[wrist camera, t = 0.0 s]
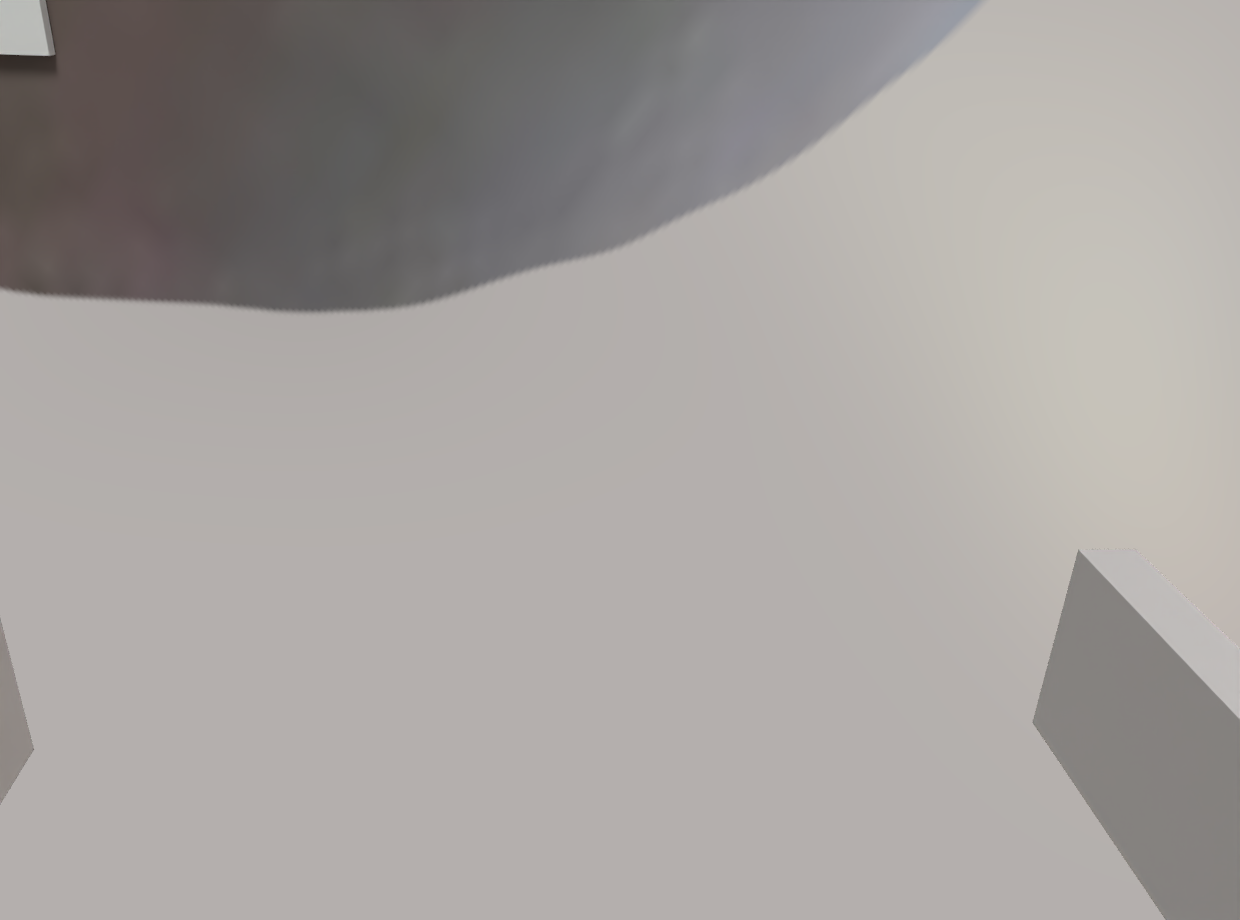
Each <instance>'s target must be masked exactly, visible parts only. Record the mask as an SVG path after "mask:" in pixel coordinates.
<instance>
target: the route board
mask: <svg viewBox="0 0 1240 920" xmlns="http://www.w3.org/2000/svg"><path fill="white" fill-rule="evenodd" d="M0 54H9V55H38V56H51V55H55V49H54V44H53V38H52V33H51V27H50V22H49V16H48V11H47V5H46V0H0Z"/></svg>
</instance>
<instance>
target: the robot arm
mask: <svg viewBox="0 0 1240 920" xmlns="http://www.w3.org/2000/svg"><path fill="white" fill-rule="evenodd" d="M1033 724H1034V725H1035V727H1036V728H1037V730H1038V731H1039V733H1040V734H1041V736H1042V737H1043V738H1044V740H1045V742H1046V743H1047V745H1048V746H1049V748H1050V749H1051V751H1052V752H1053V754H1054V755H1055V756H1056V758H1057V759H1058V761H1059V762H1060V764H1061V765H1062V767H1063V768H1064V770H1065V771H1066V773H1067V774H1068V776H1069V777H1070V779H1071V780H1072V782H1073V783H1074V785H1075V786H1076V788H1077V789H1078V791H1079V792H1080V794H1081V795H1082V797H1083V798H1084V799H1085V801H1086V802H1087V804H1088V805H1089V807H1090V808H1091V810H1092V811H1093V813H1094V814H1095V816H1096V817H1097V819H1098V820H1099V822H1100V823H1101V825H1102V826H1103V828H1104V829H1105V831H1106V832H1107V833H1108V835H1109V837H1110V838H1111V839H1112V841H1113V842H1114V844H1115V845H1116V847H1117V848H1118V850H1119V851H1120V853H1121V854H1122V856H1123V857H1124V859H1125V860H1126V862H1127V863H1128V865H1129V866H1130V868H1131V869H1132V870H1133V872H1134V874H1135V875H1136V877H1137V878H1138V880H1139V881H1140V882H1141V884H1142V885H1143V887H1144V888H1145V890H1146V891H1147V893H1148V894H1149V896H1150V897H1151V899H1152V900H1153V902H1154V903H1155V905H1156V906H1157V908H1158V909H1159V911H1160V912H1161V914H1162V915H1163V917H1164V918H1165V919H1166V920H1240V648H1239V647H1238V646H1237V645H1236V644H1235V643H1234V642H1233V641H1232V640H1231V639H1230V638H1228V637H1227V636H1226V635H1225V634H1224V633H1223V632H1222V631H1221V630H1220V629H1219V628H1218V627H1217V626H1216V625H1215V624H1214V623H1213V622H1212V621H1211V620H1210V619H1209V618H1207V617H1206V616H1205V615H1204V614H1203V613H1202V612H1201V611H1200V610H1199V609H1198V608H1197V607H1196V606H1195V605H1194V604H1193V603H1192V602H1191V601H1190V600H1189V599H1187V597H1186V596H1184V595H1183V594H1182V593H1181V592H1180V591H1179V590H1178V589H1177V588H1176V587H1175V586H1174V585H1173V584H1172V583H1171V582H1170V581H1169V580H1168V579H1167V578H1166V577H1165V576H1164V575H1162V574H1161V573H1160V572H1159V571H1158V570H1157V569H1156V568H1155V567H1154V566H1153V565H1152V564H1151V563H1150V562H1149V561H1148V560H1147V559H1146V558H1145V557H1144V556H1143V555H1141V554H1140V553H1139V552H1138V551H1137V550H1136V549H1091V550H1090V549H1089V550H1088V549H1086V550H1078V553H1077V557H1076V561H1075V565H1074V568H1073V572H1072V576H1071V580H1070V583H1069V587H1068V591H1067V594H1066V598H1065V602H1064V606H1063V610H1062V613H1061V617H1060V621H1059V625H1058V629H1057V632H1056V636H1055V640H1054V643H1053V648H1052V651H1051V655H1050V659H1049V662H1048V666H1047V670H1046V674H1045V677H1044V681H1043V685H1042V689H1041V692H1040V696H1039V700H1038V704H1037V708H1036V711H1035V715H1034V719H1033ZM33 750H34V748H33V744H32V740H31V736H30V732H29V729H28V725H27V721H26V717H25V713H24V709H23V705H22V701H21V697H20V693H19V690H18V686H17V682H16V678H15V674H14V670H13V667H12V663H11V658H10V655H9V651H8V647H7V643H6V639H5V635H4V631H3V627H2V624H1V620H0V804H1V802H2V801H3V799H4V797H5V796H6V794H7V793H8V791H9V789H10V788H11V786H12V784H13V783H14V781H15V779H16V778H17V776H18V775H19V773H20V771H21V770H22V768H23V766H24V765H25V763H26V762H27V760H28V758H29V757H30V755H31V753H32V752H33Z"/></svg>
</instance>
